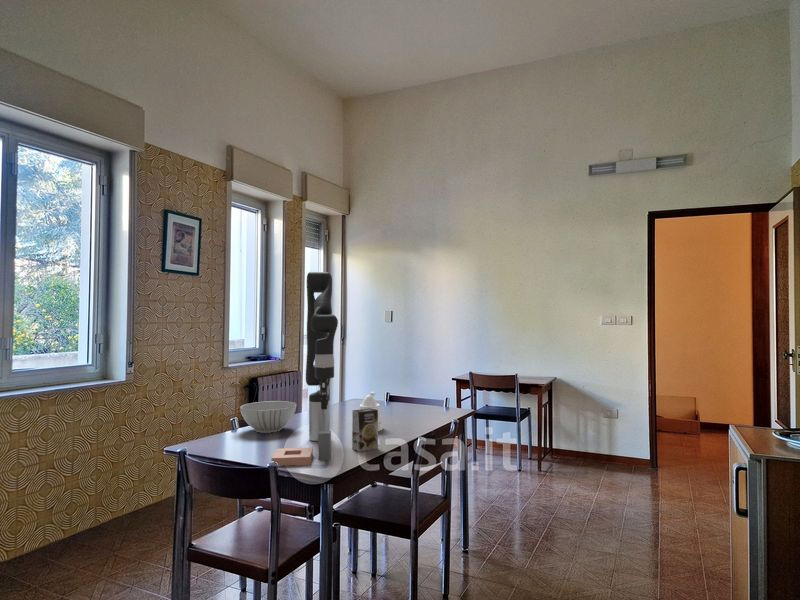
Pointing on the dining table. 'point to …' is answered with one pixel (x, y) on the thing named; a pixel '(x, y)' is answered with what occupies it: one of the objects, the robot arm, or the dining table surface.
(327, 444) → the plug
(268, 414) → the decorative bowl
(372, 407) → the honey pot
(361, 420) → the coffee box
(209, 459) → the dining table surface
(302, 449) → the socket
